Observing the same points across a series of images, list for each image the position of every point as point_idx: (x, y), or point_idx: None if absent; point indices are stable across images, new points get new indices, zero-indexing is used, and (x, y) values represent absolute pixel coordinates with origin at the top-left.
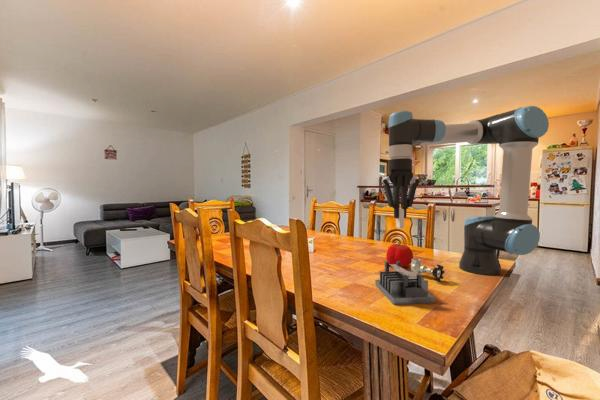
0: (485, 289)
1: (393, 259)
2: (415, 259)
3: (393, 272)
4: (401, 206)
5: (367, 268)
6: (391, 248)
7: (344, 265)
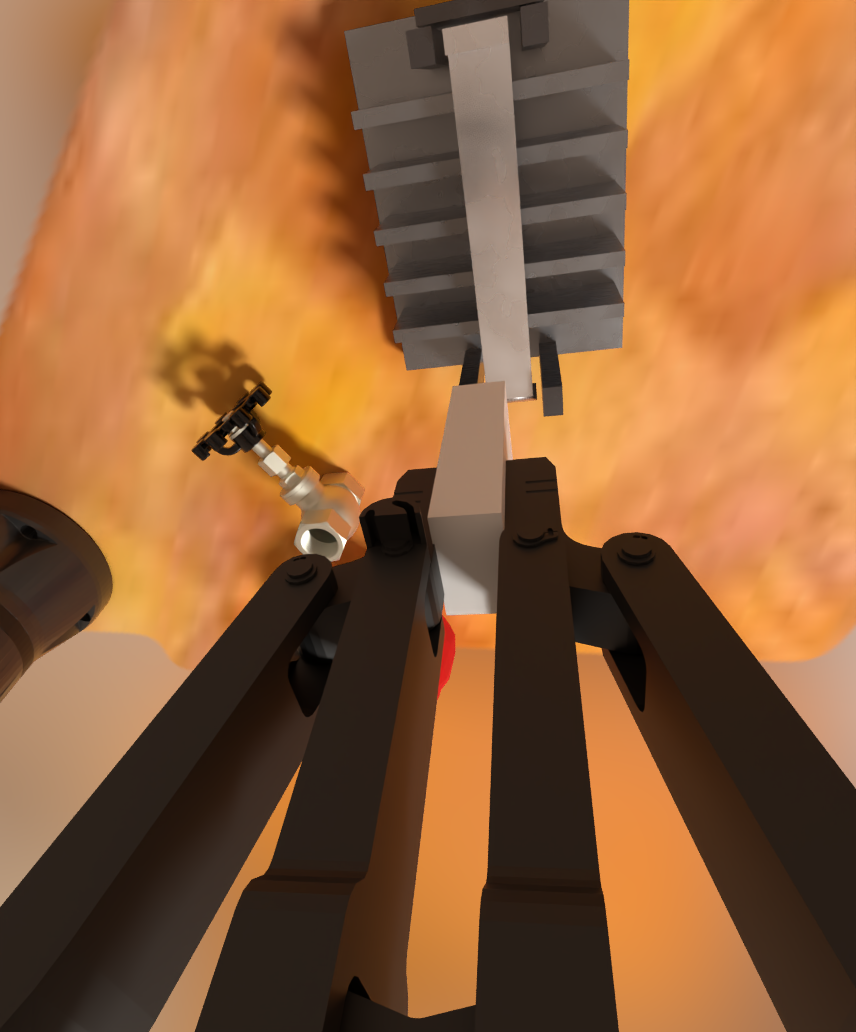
0: (40, 289)
1: None
2: (321, 554)
3: (529, 312)
4: (439, 612)
5: None
6: None
7: None
